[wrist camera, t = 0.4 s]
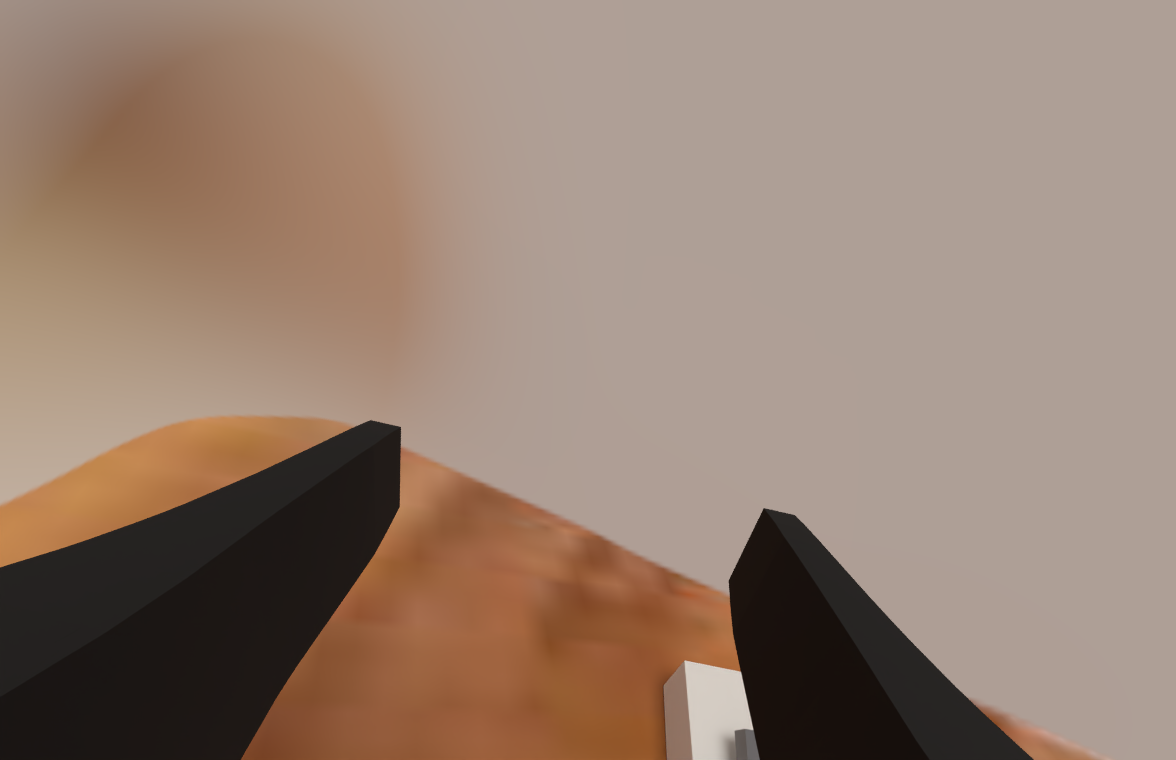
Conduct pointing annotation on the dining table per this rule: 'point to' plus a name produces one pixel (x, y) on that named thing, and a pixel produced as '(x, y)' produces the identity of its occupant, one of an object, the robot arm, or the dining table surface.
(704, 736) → the power strip
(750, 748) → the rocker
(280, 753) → the dining table surface
